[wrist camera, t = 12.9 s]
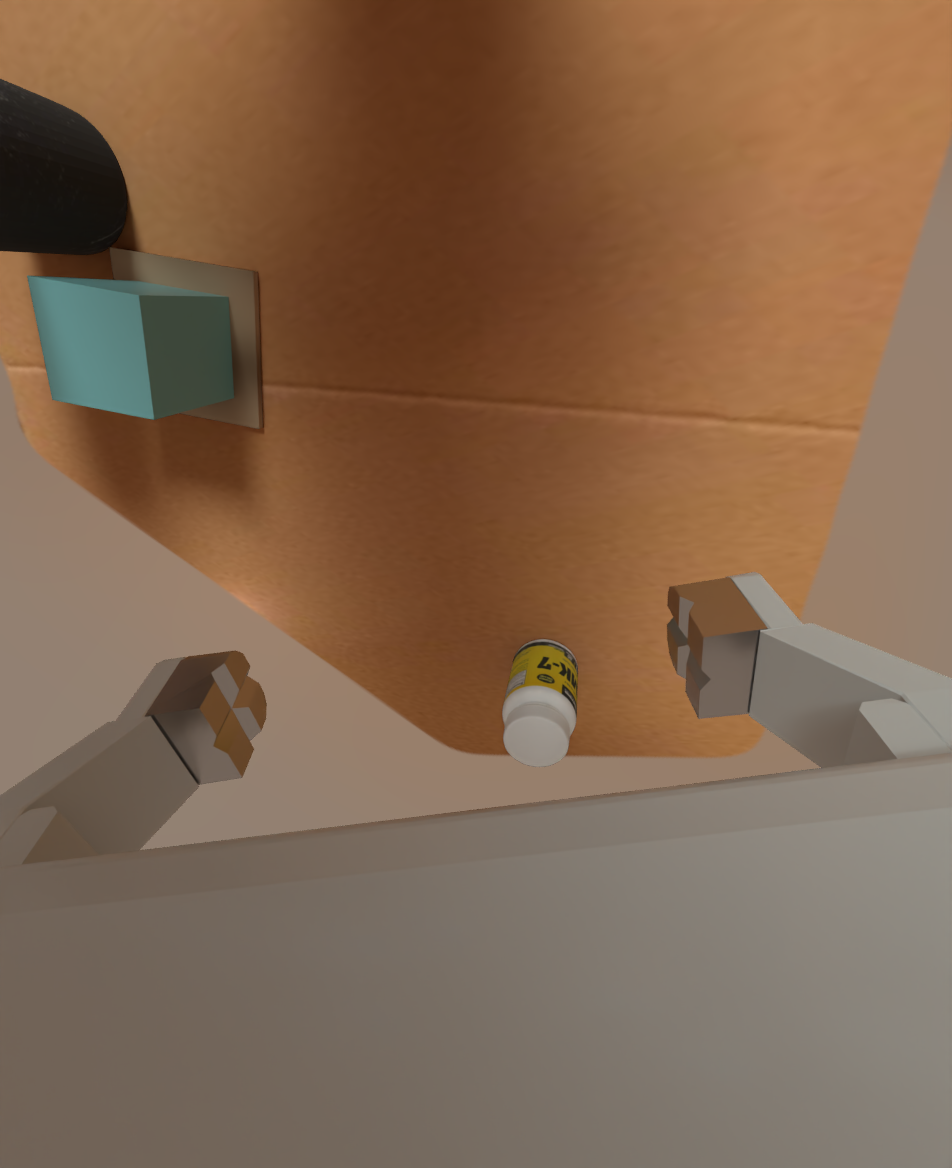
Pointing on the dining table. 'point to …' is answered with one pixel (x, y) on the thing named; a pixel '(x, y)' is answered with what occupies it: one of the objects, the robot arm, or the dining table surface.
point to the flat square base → (242, 322)
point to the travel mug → (55, 179)
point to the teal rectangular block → (133, 345)
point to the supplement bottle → (540, 703)
